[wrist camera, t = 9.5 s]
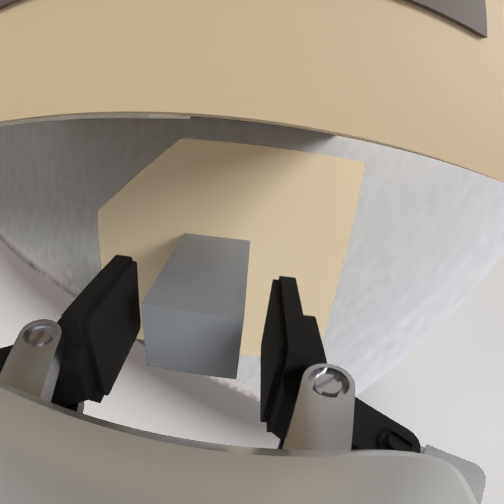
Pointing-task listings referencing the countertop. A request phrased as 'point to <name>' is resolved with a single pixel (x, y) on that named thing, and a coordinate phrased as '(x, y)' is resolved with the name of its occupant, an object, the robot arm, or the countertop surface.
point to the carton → (269, 67)
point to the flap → (228, 244)
